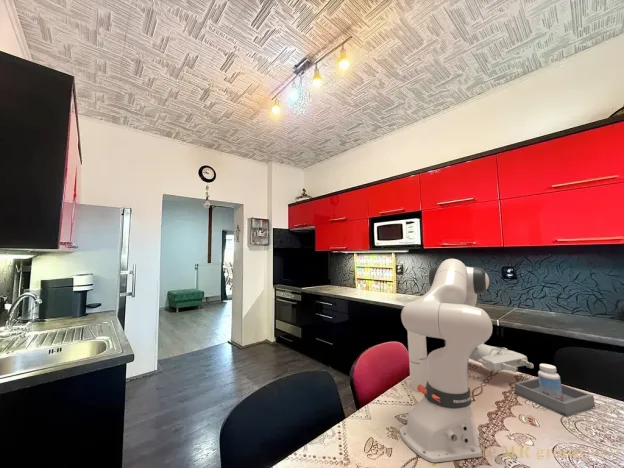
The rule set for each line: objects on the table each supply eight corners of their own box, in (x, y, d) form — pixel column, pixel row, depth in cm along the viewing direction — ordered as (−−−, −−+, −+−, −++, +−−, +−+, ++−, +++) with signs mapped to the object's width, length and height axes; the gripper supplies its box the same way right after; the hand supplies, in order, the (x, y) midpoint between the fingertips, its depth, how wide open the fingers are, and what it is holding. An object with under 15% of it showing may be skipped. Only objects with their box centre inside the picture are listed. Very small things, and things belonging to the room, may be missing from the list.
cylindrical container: (432, 392, 102) (427, 327, 105) (414, 392, 102) (410, 328, 105) (424, 383, 109) (420, 323, 112) (408, 384, 109) (404, 324, 112)
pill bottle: (567, 402, 91) (563, 369, 92) (548, 401, 92) (544, 368, 94) (554, 394, 97) (550, 363, 98) (536, 393, 98) (533, 362, 99)
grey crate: (566, 416, 85) (564, 404, 85) (515, 394, 100) (514, 383, 100) (595, 407, 90) (593, 395, 90) (542, 387, 105) (540, 376, 105)
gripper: (474, 352, 114) (505, 363, 101) (506, 346, 120) (540, 356, 107) (475, 367, 113) (507, 380, 100) (507, 360, 120) (541, 372, 107)
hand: (524, 368), depth 104 cm, fingers open, 8 cm apart
